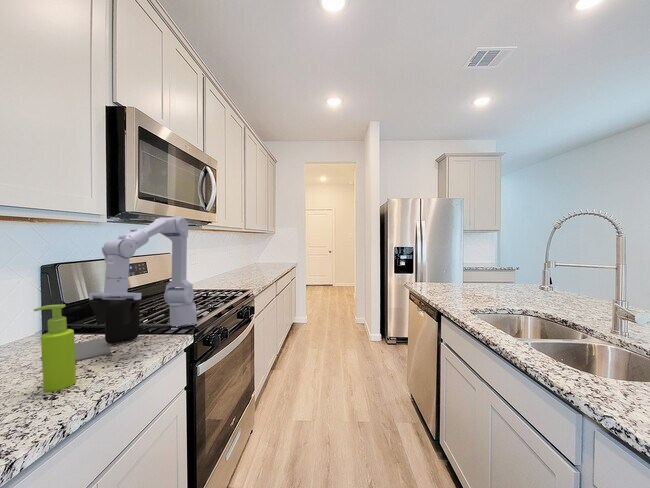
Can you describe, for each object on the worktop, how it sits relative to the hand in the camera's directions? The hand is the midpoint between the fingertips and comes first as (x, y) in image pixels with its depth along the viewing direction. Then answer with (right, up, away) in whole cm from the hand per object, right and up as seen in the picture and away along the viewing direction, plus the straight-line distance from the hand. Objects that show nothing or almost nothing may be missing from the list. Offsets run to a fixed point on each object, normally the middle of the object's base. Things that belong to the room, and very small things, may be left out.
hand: (113, 324), depth 84 cm
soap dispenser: (-3, -11, -15) cm, 19 cm away
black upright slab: (-7, -10, +13) cm, 18 cm away
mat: (-15, -10, +7) cm, 19 cm away
